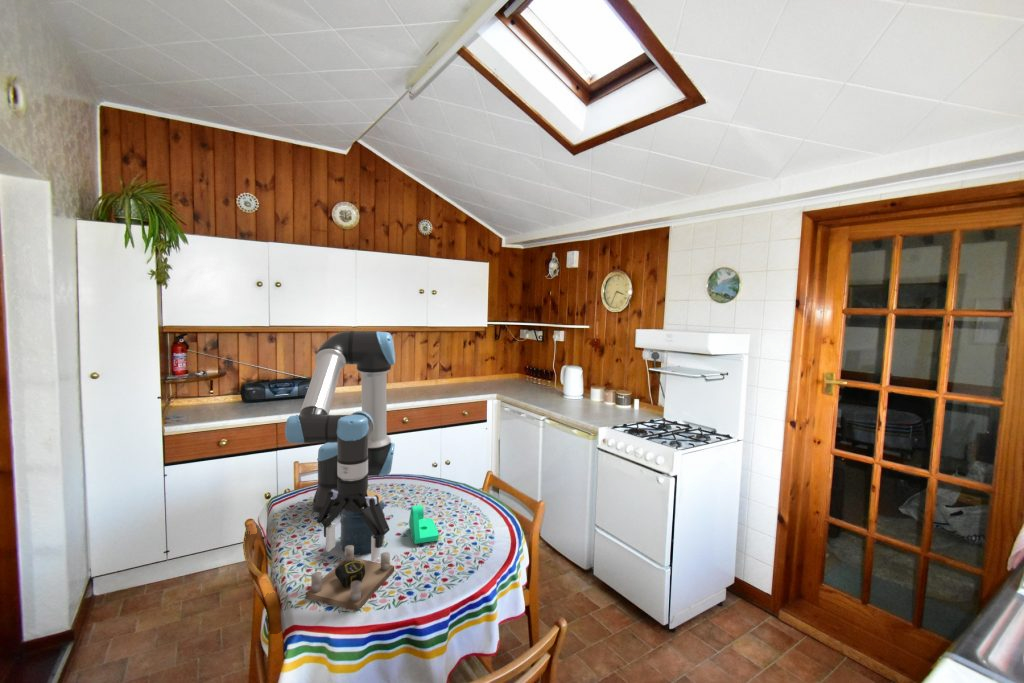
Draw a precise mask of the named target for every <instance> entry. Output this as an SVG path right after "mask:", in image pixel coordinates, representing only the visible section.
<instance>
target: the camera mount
mask: <svg viewBox="0 0 1024 683" xmlns="http://www.w3.org/2000/svg"><path fill="white" fill-rule="evenodd" d="M424 511H425V510H424V505H423V504H417V505H411V508H410V513H409V520H408V527H409V529H410V536H411V540H412V541H413V543H414V545H417V544H422V543H429V542H435V541H439V539H440V533H439V530H438V529H437V526H436V524H435V522H434V519H433V518H430V517H427V518H425V517H424V516H425V515H424V514H425V513H424Z"/></svg>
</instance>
